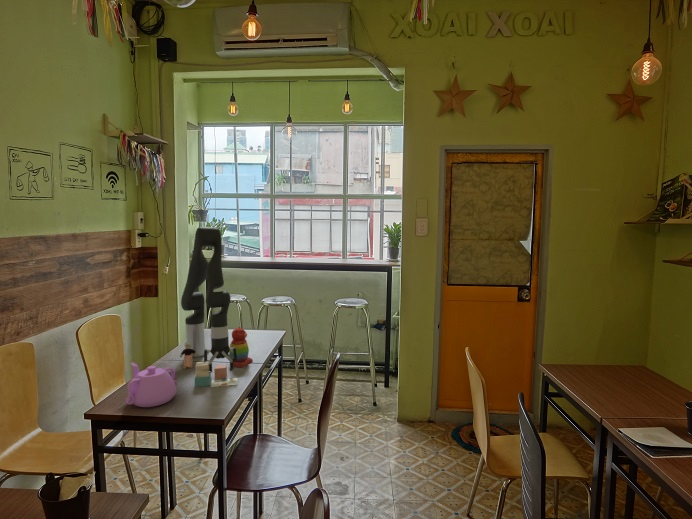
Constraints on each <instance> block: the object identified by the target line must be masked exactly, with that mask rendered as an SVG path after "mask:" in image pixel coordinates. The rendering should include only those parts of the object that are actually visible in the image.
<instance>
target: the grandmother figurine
mask: <svg viewBox="0 0 692 519" xmlns="http://www.w3.org/2000/svg"><path fill="white" fill-rule="evenodd" d="M191 346H192V344H191V343H190V342H186V341H185V342H184V348H183V350H182V351H181V353H180V355H179V358H183V366H182V369H183V370H184V369H187V368H188V369H192V368H193V357H192V354H191V353H193V354H194V355H195V356H197V354H196V351H194V350H193V349H190V347H191ZM183 355H184V356H183Z"/></svg>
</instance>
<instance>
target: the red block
mask: <svg viewBox="0 0 692 519" xmlns="http://www.w3.org/2000/svg"><path fill="white" fill-rule="evenodd" d="M227 368H228V365H227V363H223V364H215V365H214V372H213V373H214V380H221V379H222V378H226V379H227V378H228V377H227V376H228V369H227Z"/></svg>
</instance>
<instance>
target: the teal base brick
mask: <svg viewBox="0 0 692 519" xmlns="http://www.w3.org/2000/svg"><path fill="white" fill-rule="evenodd" d="M211 373H212V372H210V371H209V375H208V376H207V377H196V374H195V376H194V388H198V386H201V387H210V386H211V383H212V376H211ZM210 382H211V383H210ZM209 385H210V386H209Z"/></svg>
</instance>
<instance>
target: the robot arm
mask: <svg viewBox="0 0 692 519" xmlns="http://www.w3.org/2000/svg"><path fill="white" fill-rule="evenodd" d="M204 247H206V248H207V247H211V248H212V247H213V253H212V257H211V258H210V260H209V262H208V259H207V258H206V257H205V255H204V253H203V251H202V250H203V248H204ZM192 248H193V250H192V254H191V260H190V263H189V267H188V272H187V273H188V274H187V278H186V283H185V286H184V290H183V292H182V294H181V300H180V304H181V305H180V306H181V308H182V310H183V311H184V312H185V311H187V312H188V311H189V312H191V311H194V312H192V314H190V315H189V316H187V317H186V318H184V319H185V320H184V322H185V323H184V324H185V342H190V343H191V344H192V346H191V347H190V349H193V350H194V351H196V354H197V356H195V355H194V354H193V353H191V354H192V358H200V357H202V356H204V357H203V362H207V361H209V372H211V373H213V362H214V360H216V359H218V360H219V359H226V360H228V361H229V371H232V370H234V366H233V362H234V361H237V352H236V347H233V348H230V344H229V342H230V341H229V328H228V312H229V308H230V304H231V295H230V292H228V291H226V290H221V291H215V290H217V289H220V288H222V287H224V283H225V281H224V276H223V268H222V234H221V231H220V229H219V227H215V226H199V227H197V229H196V230H195V234H194V241H193V247H192ZM205 281H206V282H207V291H206V296H204V294H203V292H201V291H196V290H197V289H199V287H200V286H201V285H202V284H203V283H204V282H205ZM205 303H206V306H207V307H208V308H210V309H215V308H221V309H219V310H218V311H216V312H213V313H212V314H211V315H210V344H211V347H210V348H209V349H208V348H206V337H205V336H206V335H205ZM229 351H232V353H234V358H231V356H230V355H229ZM210 353H211V355H212V356H211V358H210V359H208V355H209V354H210Z"/></svg>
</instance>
